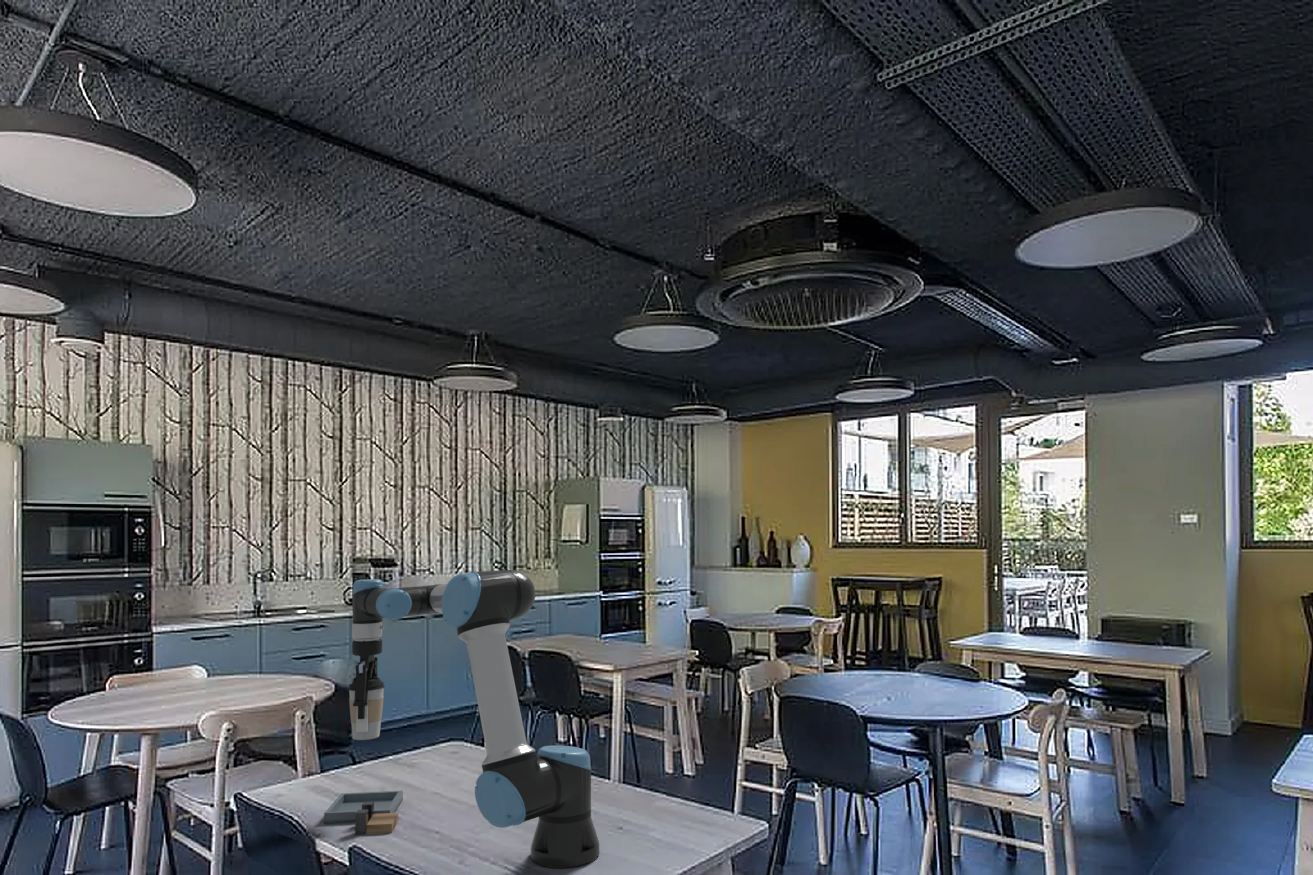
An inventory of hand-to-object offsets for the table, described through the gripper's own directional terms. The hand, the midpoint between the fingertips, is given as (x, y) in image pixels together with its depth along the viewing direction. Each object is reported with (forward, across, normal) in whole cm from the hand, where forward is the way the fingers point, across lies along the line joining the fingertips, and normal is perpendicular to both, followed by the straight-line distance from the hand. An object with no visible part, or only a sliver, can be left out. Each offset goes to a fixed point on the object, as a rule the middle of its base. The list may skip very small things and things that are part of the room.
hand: (366, 727), depth 229 cm
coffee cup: (+3, 0, 0) cm, 3 cm away
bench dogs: (+21, -13, -3) cm, 25 cm away
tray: (+21, 0, 0) cm, 21 cm away
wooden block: (+22, -13, -7) cm, 26 cm away
